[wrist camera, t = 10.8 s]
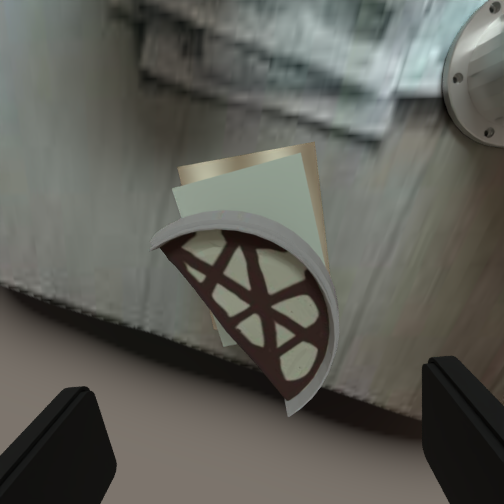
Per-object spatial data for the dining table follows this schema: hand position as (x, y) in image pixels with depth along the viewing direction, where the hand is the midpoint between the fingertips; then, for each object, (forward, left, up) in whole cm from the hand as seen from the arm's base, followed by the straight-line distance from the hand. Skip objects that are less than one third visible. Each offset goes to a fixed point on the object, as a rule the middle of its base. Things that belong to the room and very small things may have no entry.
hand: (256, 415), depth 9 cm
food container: (-1, 0, -17) cm, 17 cm away
